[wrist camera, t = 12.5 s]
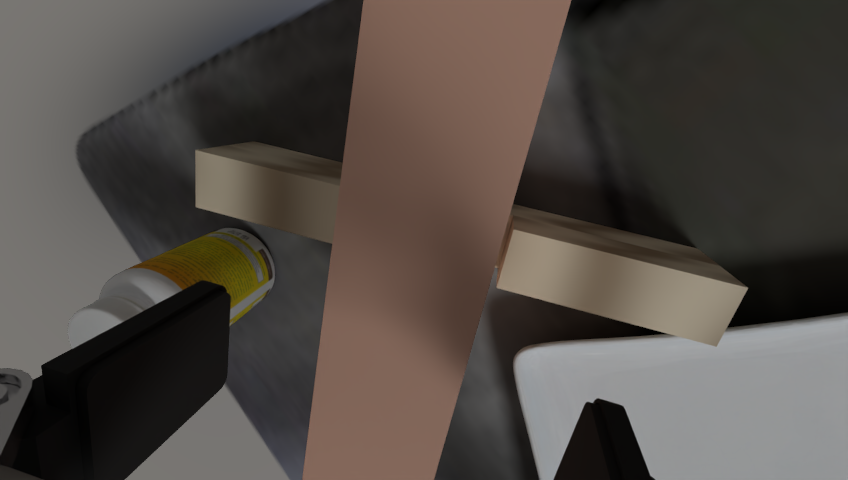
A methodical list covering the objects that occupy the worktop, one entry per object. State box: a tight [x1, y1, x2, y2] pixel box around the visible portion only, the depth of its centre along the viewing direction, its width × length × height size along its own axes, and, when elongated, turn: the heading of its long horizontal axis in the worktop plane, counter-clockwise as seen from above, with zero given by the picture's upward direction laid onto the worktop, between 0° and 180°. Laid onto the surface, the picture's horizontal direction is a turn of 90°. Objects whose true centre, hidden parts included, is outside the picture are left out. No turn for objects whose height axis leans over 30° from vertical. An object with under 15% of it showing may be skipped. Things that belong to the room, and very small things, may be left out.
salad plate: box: [513, 312, 848, 480], centre depth 24 cm, size 21×21×3 cm
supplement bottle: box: [68, 228, 275, 349], centre depth 23 cm, size 6×6×10 cm
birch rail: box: [196, 141, 748, 347], centre depth 22 cm, size 26×3×5 cm, turn 78°
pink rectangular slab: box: [302, 0, 571, 480], centre depth 17 cm, size 16×4×14 cm, turn 168°
